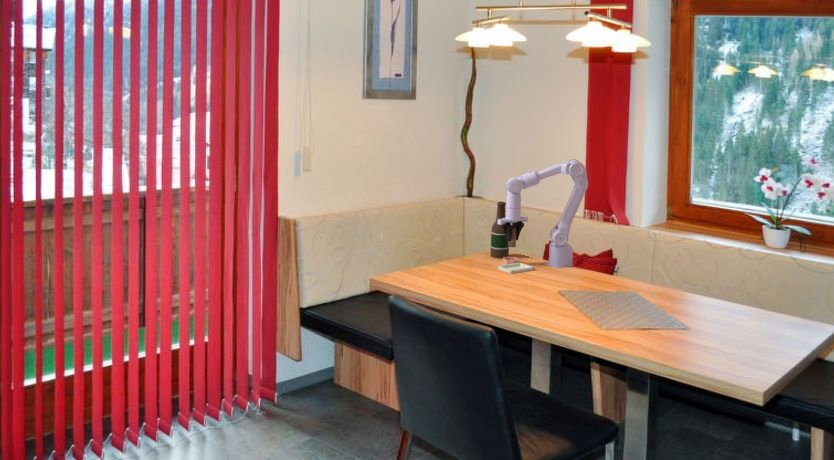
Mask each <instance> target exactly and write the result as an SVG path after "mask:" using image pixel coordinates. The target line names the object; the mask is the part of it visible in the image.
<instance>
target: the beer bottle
mask: <svg viewBox="0 0 834 460" xmlns="http://www.w3.org/2000/svg"><path fill="white" fill-rule="evenodd" d="M496 205H497V208H496V218H495V221H494V222H493V224H492V226H491V233H490V257H491V258H492V259H502V260H503V257H509V249H510V247H508V241H506V236H505V232H504V230H503V227H502V226H501V225H499V224H498V219H502V218H505V217H506V205H507V202H506V201H497V203H496Z"/></svg>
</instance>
